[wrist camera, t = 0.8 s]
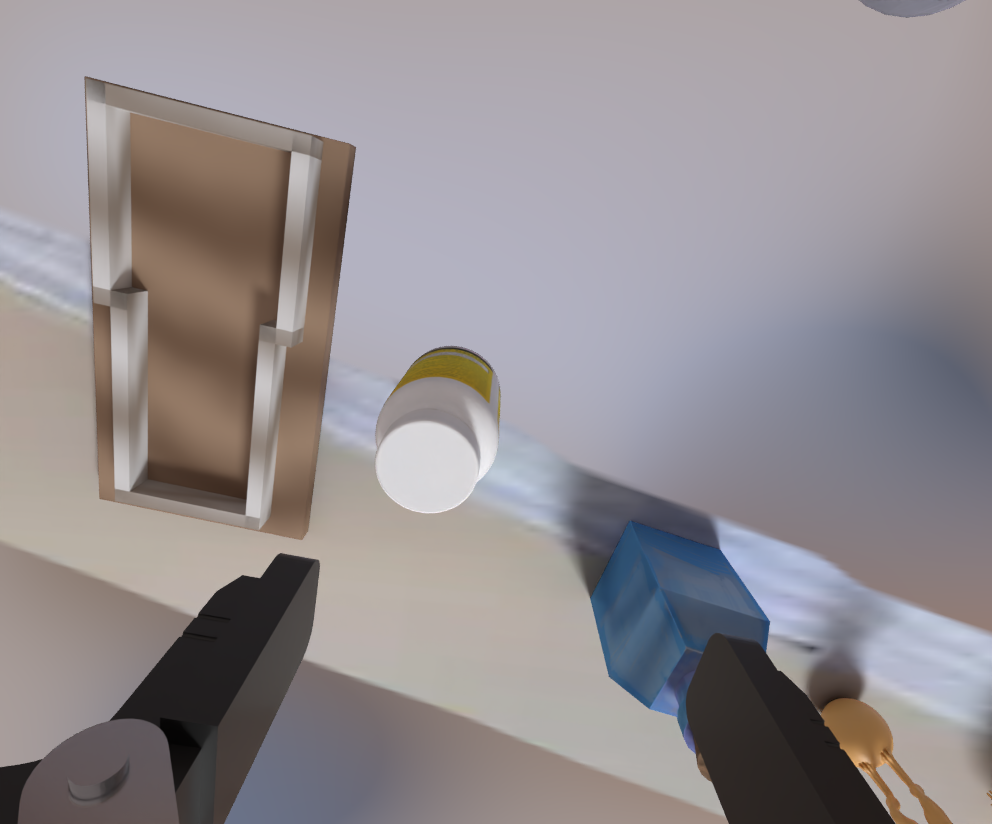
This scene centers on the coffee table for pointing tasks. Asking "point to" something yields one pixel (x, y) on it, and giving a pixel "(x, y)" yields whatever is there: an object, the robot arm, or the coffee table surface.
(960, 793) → the coffee table surface
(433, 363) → the supplement bottle
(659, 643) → the perfume bottle
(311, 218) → the brown rectangular tray
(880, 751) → the figurine
